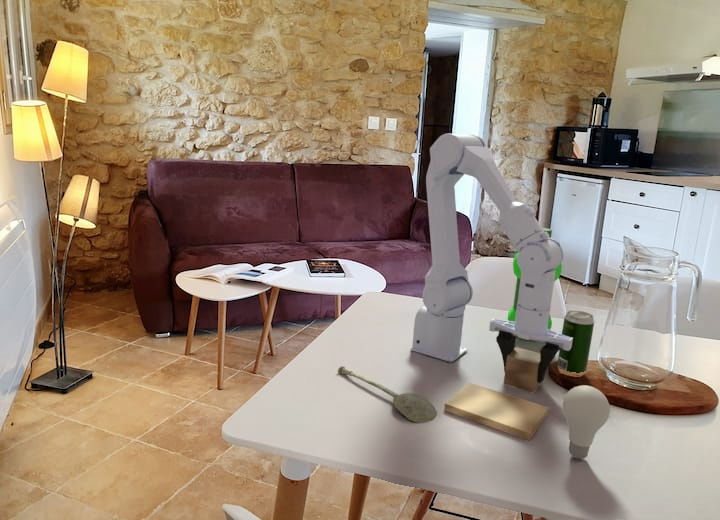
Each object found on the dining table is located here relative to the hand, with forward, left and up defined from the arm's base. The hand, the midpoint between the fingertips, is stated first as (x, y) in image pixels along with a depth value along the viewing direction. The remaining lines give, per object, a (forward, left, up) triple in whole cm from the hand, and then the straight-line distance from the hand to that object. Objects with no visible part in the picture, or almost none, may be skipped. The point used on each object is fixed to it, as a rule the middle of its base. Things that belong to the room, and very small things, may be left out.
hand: (523, 375), depth 101 cm
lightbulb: (+14, -19, -2) cm, 24 cm away
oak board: (0, -14, -1) cm, 14 cm away
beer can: (+6, +11, -2) cm, 13 cm away
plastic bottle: (-7, +25, -2) cm, 26 cm away
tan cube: (0, 0, -2) cm, 2 cm away
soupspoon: (-18, -21, -2) cm, 27 cm away
